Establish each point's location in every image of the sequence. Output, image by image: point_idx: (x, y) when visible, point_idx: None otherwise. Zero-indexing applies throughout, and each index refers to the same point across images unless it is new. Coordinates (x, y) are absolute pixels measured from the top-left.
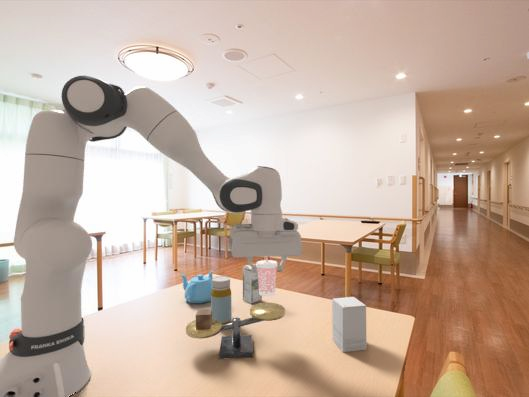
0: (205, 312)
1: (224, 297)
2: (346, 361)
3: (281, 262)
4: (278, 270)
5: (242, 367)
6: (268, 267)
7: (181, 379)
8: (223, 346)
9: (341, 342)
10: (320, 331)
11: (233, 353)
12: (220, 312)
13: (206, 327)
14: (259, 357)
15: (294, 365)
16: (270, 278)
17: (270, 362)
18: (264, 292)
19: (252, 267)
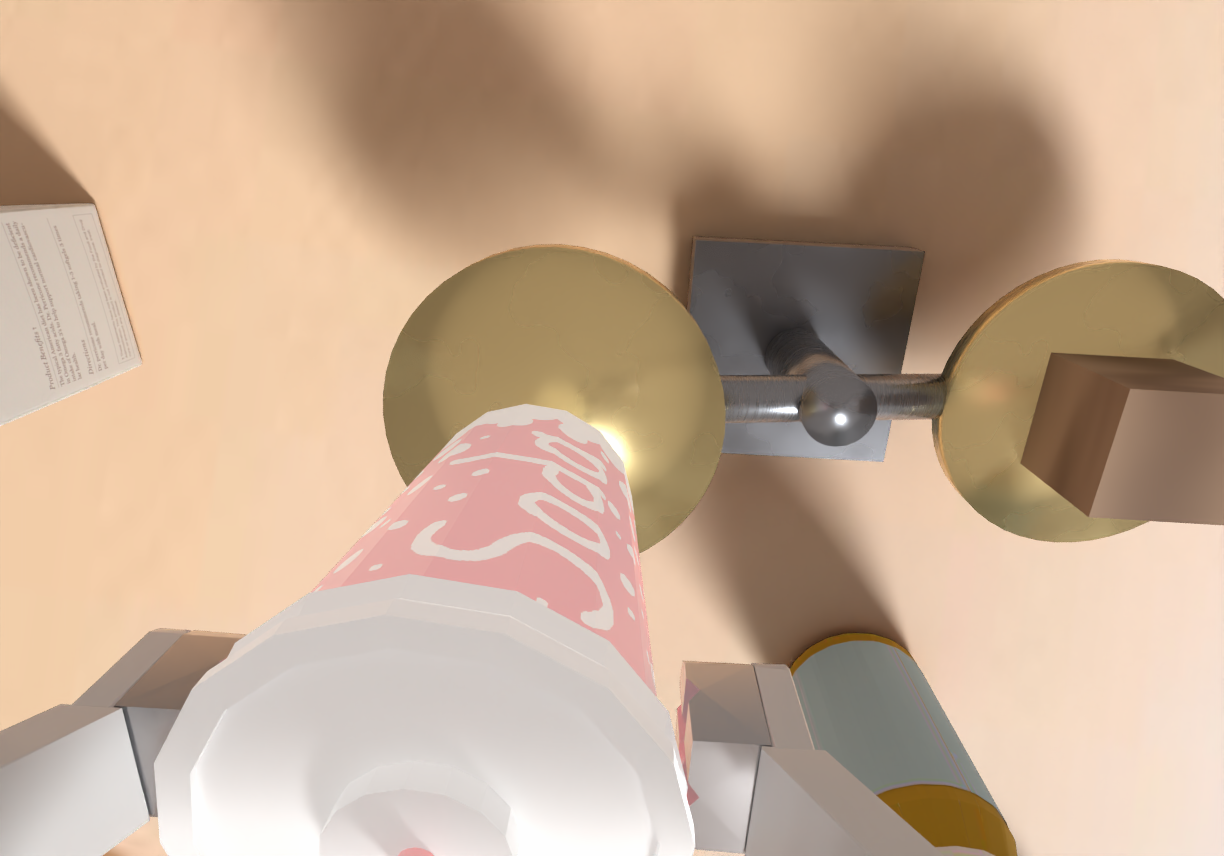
0: (1168, 442)
1: (897, 784)
2: (90, 98)
3: (58, 810)
4: (232, 644)
5: (773, 132)
6: (411, 586)
7: (1174, 58)
8: (885, 336)
9: (61, 230)
10: (210, 471)
11: (827, 245)
12: (891, 690)
13: (1092, 358)
14: (650, 229)
15: (435, 104)
16: (439, 497)
17: (586, 162)
18: (572, 432)
19: (789, 733)
